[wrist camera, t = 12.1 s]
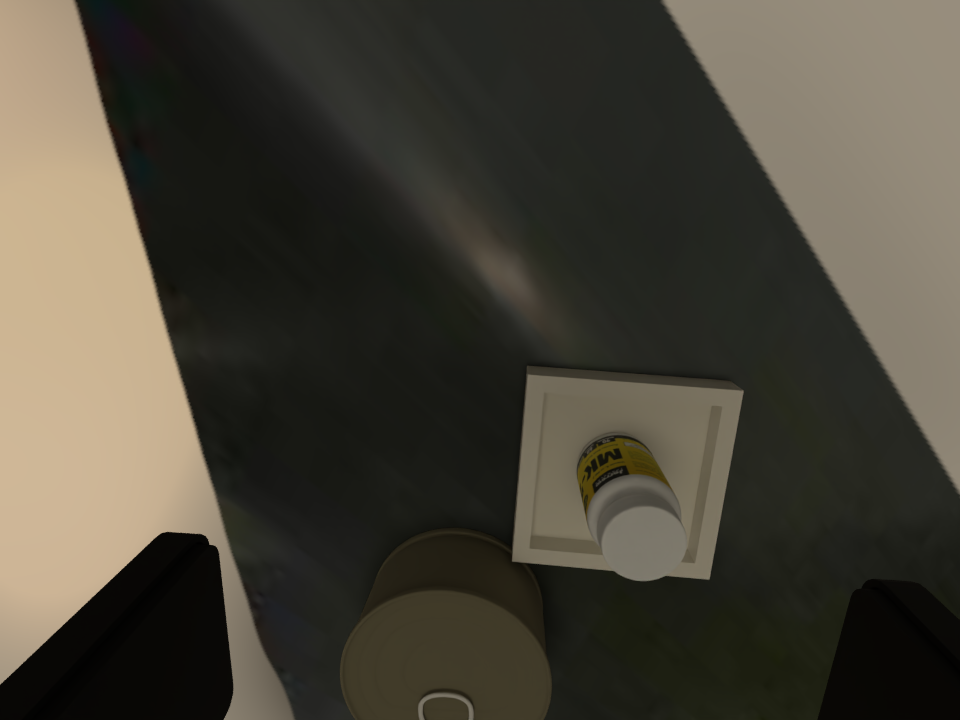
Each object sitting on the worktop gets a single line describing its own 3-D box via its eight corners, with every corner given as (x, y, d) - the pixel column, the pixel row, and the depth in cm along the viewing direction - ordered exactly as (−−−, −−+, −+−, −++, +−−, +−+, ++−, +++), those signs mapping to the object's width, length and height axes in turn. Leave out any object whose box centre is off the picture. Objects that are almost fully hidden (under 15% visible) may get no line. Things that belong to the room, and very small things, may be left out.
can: (546, 525, 36) (553, 594, 29) (544, 680, 38) (550, 774, 32) (365, 522, 36) (331, 587, 30) (375, 673, 39) (347, 764, 33)
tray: (527, 365, 33) (527, 374, 31) (729, 380, 33) (743, 390, 30) (512, 542, 36) (512, 561, 34) (698, 559, 35) (709, 579, 33)
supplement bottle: (605, 416, 33) (635, 478, 25) (669, 457, 33) (719, 532, 25) (559, 477, 34) (573, 555, 26) (622, 516, 34) (654, 606, 26)
